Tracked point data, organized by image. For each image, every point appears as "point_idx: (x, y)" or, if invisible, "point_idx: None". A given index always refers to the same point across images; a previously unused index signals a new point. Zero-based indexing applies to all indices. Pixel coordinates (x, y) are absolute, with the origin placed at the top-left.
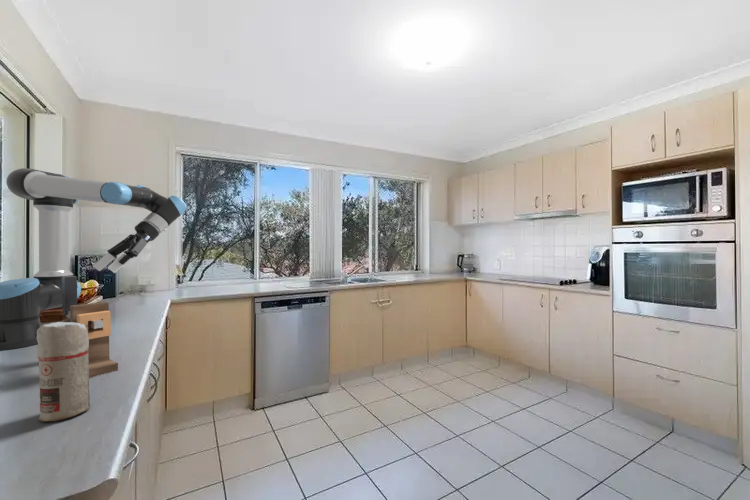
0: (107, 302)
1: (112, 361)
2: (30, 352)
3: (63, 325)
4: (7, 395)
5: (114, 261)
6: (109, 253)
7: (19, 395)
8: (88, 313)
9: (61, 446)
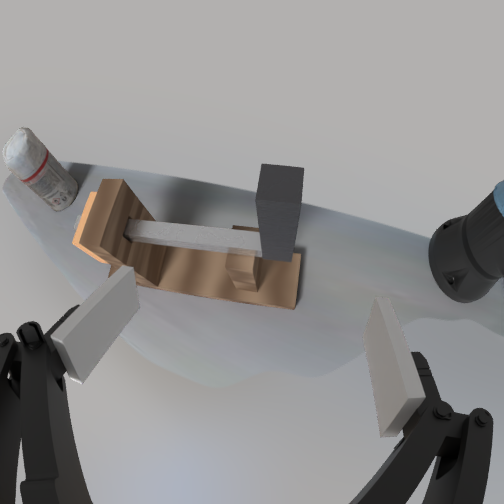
0: (83, 243)
1: None
2: (380, 253)
3: (8, 142)
4: (160, 175)
5: (104, 293)
6: (404, 403)
7: (147, 181)
8: None
9: None
